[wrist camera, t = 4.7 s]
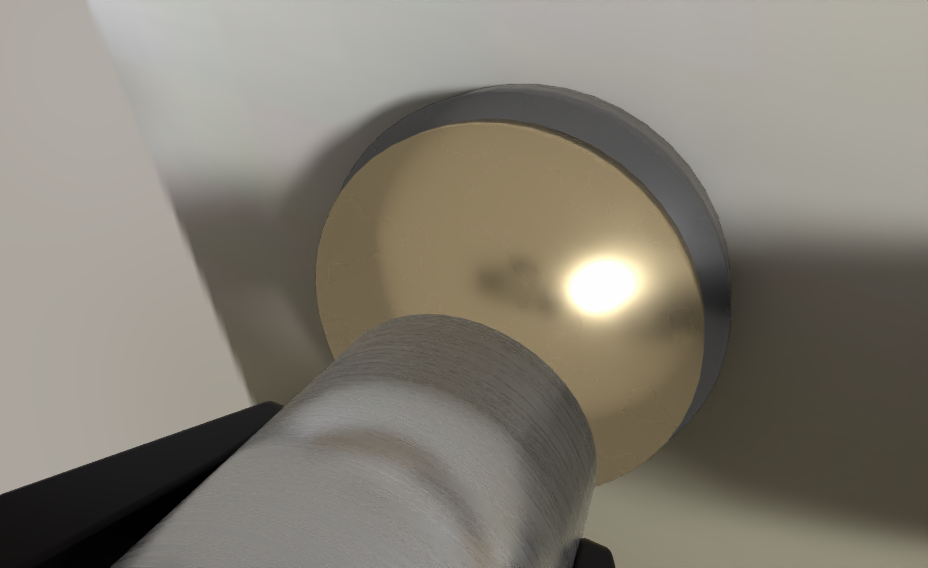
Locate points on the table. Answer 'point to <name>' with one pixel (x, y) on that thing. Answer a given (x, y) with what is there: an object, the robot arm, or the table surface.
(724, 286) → the base
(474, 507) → the cylinder
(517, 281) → the pan
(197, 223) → the table surface
